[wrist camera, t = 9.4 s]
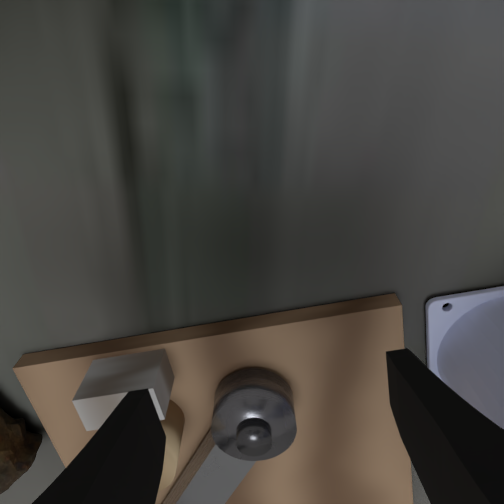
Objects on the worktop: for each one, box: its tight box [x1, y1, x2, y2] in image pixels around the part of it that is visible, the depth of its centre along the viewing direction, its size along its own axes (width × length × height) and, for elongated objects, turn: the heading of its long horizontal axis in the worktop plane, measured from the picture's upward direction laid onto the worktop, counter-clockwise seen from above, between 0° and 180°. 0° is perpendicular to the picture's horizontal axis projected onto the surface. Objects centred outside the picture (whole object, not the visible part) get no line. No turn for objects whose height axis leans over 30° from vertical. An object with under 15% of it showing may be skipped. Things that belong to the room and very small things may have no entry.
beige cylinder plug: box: [158, 400, 185, 492], centre depth 23 cm, size 4×4×3 cm
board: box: [13, 293, 413, 504], centre depth 26 cm, size 21×20×4 cm
